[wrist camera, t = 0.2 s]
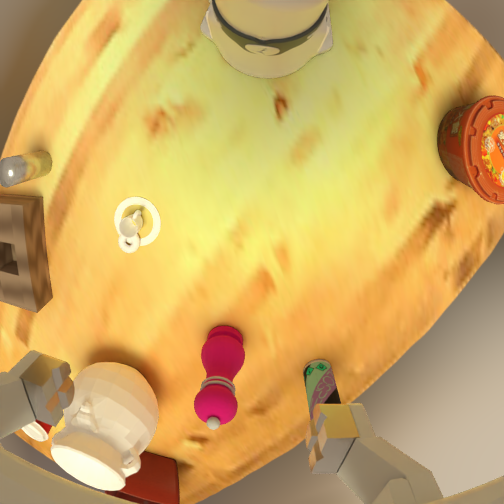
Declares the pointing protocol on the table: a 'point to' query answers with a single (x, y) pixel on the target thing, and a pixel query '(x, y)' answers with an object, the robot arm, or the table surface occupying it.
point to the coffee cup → (37, 430)
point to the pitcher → (106, 425)
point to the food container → (475, 146)
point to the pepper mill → (219, 376)
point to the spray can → (320, 384)
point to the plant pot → (151, 482)
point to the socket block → (23, 253)
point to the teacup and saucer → (129, 229)
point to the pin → (24, 167)
